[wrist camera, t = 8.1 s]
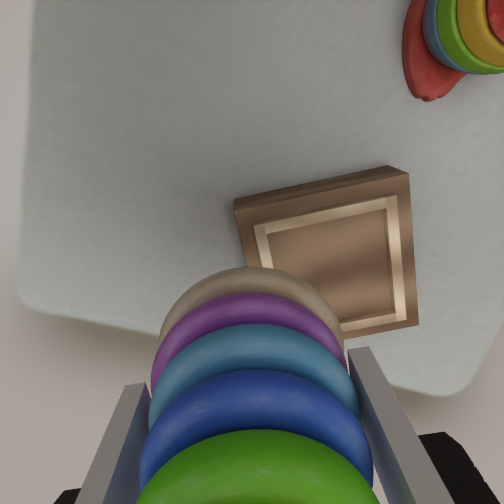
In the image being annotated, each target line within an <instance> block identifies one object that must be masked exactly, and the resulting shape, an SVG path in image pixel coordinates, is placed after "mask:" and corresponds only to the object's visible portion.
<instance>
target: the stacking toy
mask: <svg viewBox="0 0 504 504" xmlns="http://www.w3.org/2000/svg"><path fill="white" fill-rule="evenodd" d="M151 393H152V398H151V402H150V407H149V420H148V426H149V434H148V436H147V438H146V441H145V443H144V446H143V450H142V453H141V459H140V466H139V486H140V493H141V494H140V496H139V498H138V500H137V502H136V504H380V503H379V501H378V499H377V498H376V496H375V494H374V492H373V491H372V487H373V460H372V453H371V449H370V446H369V443H368V440H367V437H366V435H365V433H364V430H363V429H362V427H361V409H360V403H359V399H358V395H357V391H356V389H355V386H354V384H353V382H352V380H351V378H350V376H349V374H348V369H347V364H346V360H345V357H344V342H343V335H342V330H341V327H340V324H339V321H338V318H337V316H336V314H335V313H334V311H333V309H332V307H331V306H330V304H329V303H328V302H327V300H326V299H325V298H324V297H323V296H322V295H321V294H320V293H319V292H318V291H317V290H316V289H315V288H314V287H312V286H311V285H310V284H308V283H307V282H305V281H304V280H302V279H300V278H298V277H296V276H294V275H291V274H289V273H286V272H284V271H280V270H277V269H272V268H266V267H240V268H233V269H229V270H225V271H222V272H219V273H216V274H213V275H211V276H209V277H207V278H205V279H203V280H201V281H200V282H198V283H196V284H195V285H194V286H192V287H191V288H190V289H189V290H187V291H186V292H185V293H184V294H183V295H182V296H181V297H180V298H179V299H178V300H177V301H176V303H175V304H174V305H173V306H172V308H171V310H170V311H169V313H168V314H167V316H166V318H165V321H164V323H163V325H162V328H161V331H160V336H159V342H158V351H157V354H156V356H155V360H154V363H153V367H152V373H151Z"/></svg>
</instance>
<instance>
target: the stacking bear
mask: <svg viewBox="0 0 504 504" xmlns="http://www.w3.org/2000/svg"><path fill="white" fill-rule="evenodd" d="M403 63H404V69H405V74H406V78H407V81H408V84H409V87H410V89H411V91H412V93H413V95H414V96H415V97H416V98H422V99H423V100H425V101H428V102H429V101H432V100H435V99H436V98H441V97H443V96H445V95H446V94H447V93H448V92H449V91H450V90H451V89H452V88H453V87H454V86H455V84H456V83H457V82H458V81H459V80H460V79H461V78H462V77H463V76H465V75H466V74H468V73H469V74H478V75H487V74H498V73H503V72H504V0H412V3H411V5H410V8H409V11H408V15H407V19H406V23H405V29H404V36H403Z"/></svg>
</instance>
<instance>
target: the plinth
mask: <svg viewBox="0 0 504 504" xmlns="http://www.w3.org/2000/svg"><path fill="white" fill-rule="evenodd" d="M234 215H235V220H236V224H237V228H238V232H239V236H240V240H241V245H242V249H243V253H244V257H245V261H246V265H247V267H266V268H272V269H277V270H280V271H284V272H286V273H289V274H291V275H294V276H296V277H298V278H300V279H302V280H304V281H305V282H307V283H308V284H310V285H311V286H312V287H314V288H315V289H316V290H317V291H318V292H319V293H320V294H321V295H322V296H323V297H324V298H325V299H326V300H327V302H328V303H329V304H330V306H331V307H332V309H333V311H334V313H335V314H336V316H337V318H338V321H339V324H340V327H341V330H342V335H343V340H345V339H350V338H355V337H360V336H365V335H370V334H375V333H381V332H386V331H391V330H396V329H401V328H406V327H411V326H416V325H419V320H418V305H417V290H416V275H415V260H414V245H413V230H412V215H411V200H410V185H409V173H407V172H404V171H402V170H399V169H397V168H394V167H391V166H389V165H388V166H383V167H379V168H374V169H370V170H365V171H360V172H356V173H351V174H347V175H342V176H337V177H333V178H328V179H324V180H319V181H315V182H310V183H305V184H301V185H296V186H292V187H287V188H283V189H278V190H273V191H269V192H264V193H260V194H255V195H251V196H246V197H241V198H237V199H235V200H234Z"/></svg>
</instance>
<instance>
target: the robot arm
mask: <svg viewBox="0 0 504 504" xmlns="http://www.w3.org/2000/svg"><path fill="white" fill-rule="evenodd" d="M347 351H348V361H349V371H350V378H351V380H352V382H353V384H354V386H355V389H356V391H357V395H358V399H359V403H360V409H361V427H362V429H363V430H364V433H365V435H366V437H367V440H368V443H369V446H370V449H371V453H372V460H373V463H374V466H375V468H376V471H377V473H378V476H379V479H380V482H381V484H382V487H383V489H384V492H385V495H386V497H387V500H388V503H389V504H500V503H499V501H498V500H497V498H496V497H495V495H494V494H493V492H492V491H491V489H490V488H489V486H488V485H487V483H486V482H484V480H483V477H482V476H481V474H480V473H479V471H478V470H477V468H476V467H474V464H473V462H472V461H471V459H470V458H469V456H468V454H467V453H466V451H465V450H464V448H463V447H462V446H461V445H460V444H459V443H458V442H456V441H455V440H454V439H453V438H452V437H450V436H449V435H448V434H446V433H445V432H438V433H432V434H425V435H419V436H417V434H416V432H415V430H414V429H413V427H412V425H411V423H410V421H409V419H408V418H407V416H406V414H405V412H404V410H403V408H402V407H401V405H400V403H399V401H398V399H397V397H396V396H395V394H394V392H393V390H392V388H391V386H390V385H389V383H388V381H387V379H386V377H385V375H384V374H383V372H382V370H381V368H380V366H379V364H378V363H377V361H376V359H375V357H374V355H373V354H372V352H371V350H370V348H369V346H368V347H362V348H356V349H350V350H347ZM150 402H151V398H150V395H149V392H148V389H147V386H146V383H145V382H144V383H138V384H132V385H126V386H125V387H124V389H123V392H122V394H121V396H120V399H119V401H118V403H117V406H116V408H115V411H114V413H113V415H112V417H111V420H110V422H109V424H108V427H107V429H106V432H105V434H104V436H103V438H102V441H101V443H100V445H99V448H98V450H97V453H96V455H95V457H94V460H93V462H92V464H91V467H90V469H89V471H88V474H87V476H86V479H85V481H84V483H83V485H82V488H78V489H72V490H65V491H64V492H63V493H62V494H61V495H60V496H59V498H58V499H57V500H56V501H55V502H54V504H136V502H137V500H138V498H139V496H140V494H141V493H140V486H139V466H140V459H141V453H142V450H143V446H144V443H145V441H146V438H147V436H148V434H149V426H148V420H149V407H150Z"/></svg>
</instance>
